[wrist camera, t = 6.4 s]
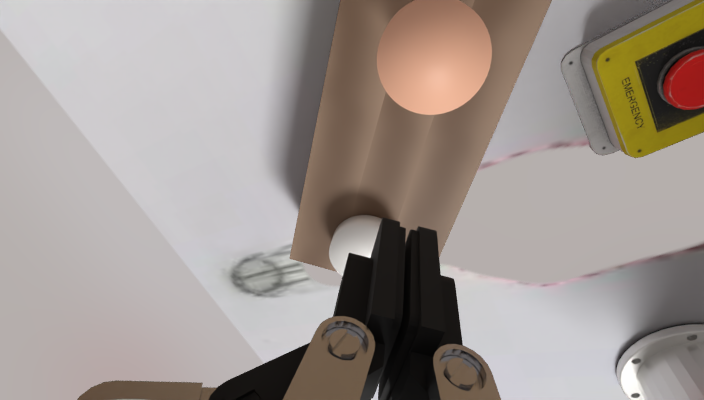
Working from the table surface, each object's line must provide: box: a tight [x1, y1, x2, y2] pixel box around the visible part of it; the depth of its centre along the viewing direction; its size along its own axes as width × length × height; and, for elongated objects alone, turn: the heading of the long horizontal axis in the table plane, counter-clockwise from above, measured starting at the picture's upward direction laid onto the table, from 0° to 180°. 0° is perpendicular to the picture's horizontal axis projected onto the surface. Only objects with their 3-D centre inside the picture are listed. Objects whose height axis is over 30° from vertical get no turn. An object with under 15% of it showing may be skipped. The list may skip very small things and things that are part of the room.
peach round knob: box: [377, 0, 492, 115], centre depth 24 cm, size 6×6×8 cm
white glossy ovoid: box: [329, 215, 382, 276], centre depth 35 cm, size 6×6×8 cm
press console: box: [290, 0, 552, 272], centre depth 32 cm, size 12×24×6 cm, turn 167°
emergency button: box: [561, 0, 704, 158], centre depth 28 cm, size 9×4×15 cm
